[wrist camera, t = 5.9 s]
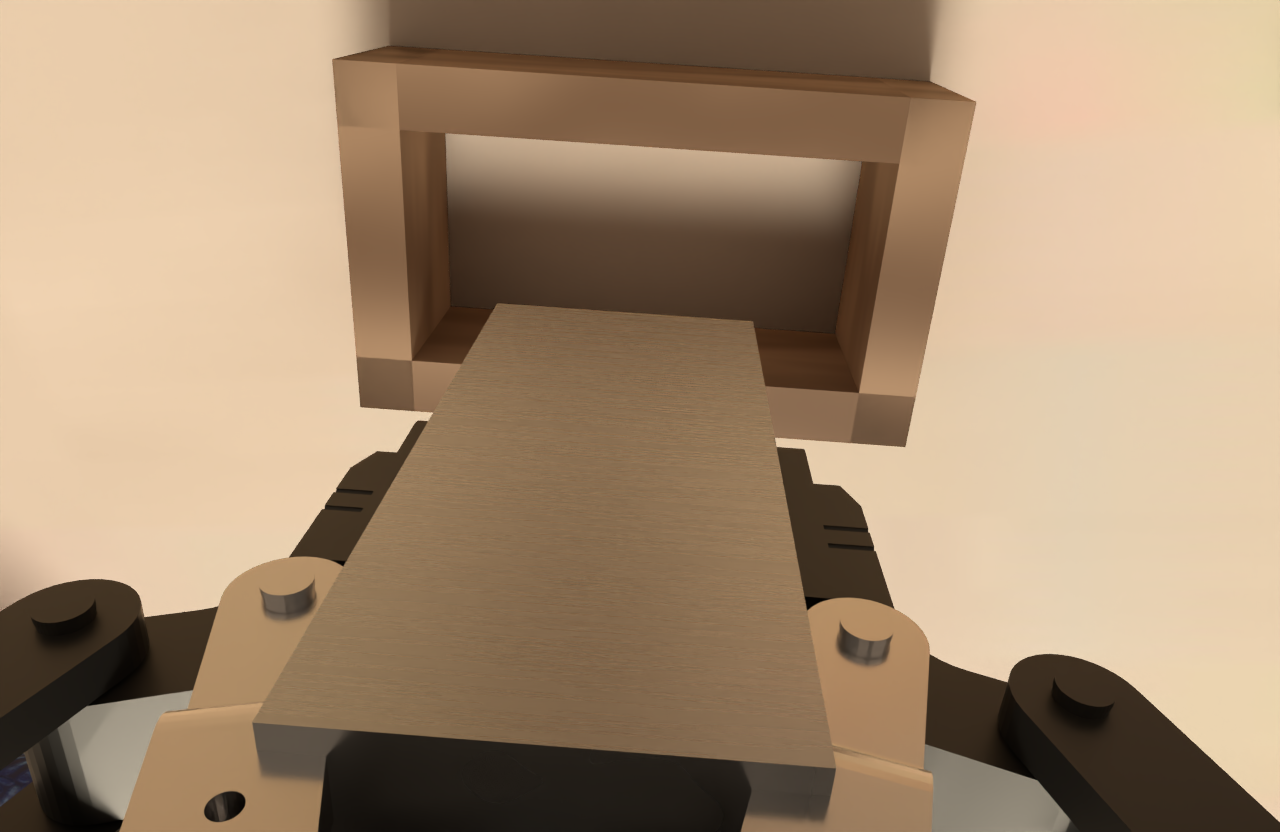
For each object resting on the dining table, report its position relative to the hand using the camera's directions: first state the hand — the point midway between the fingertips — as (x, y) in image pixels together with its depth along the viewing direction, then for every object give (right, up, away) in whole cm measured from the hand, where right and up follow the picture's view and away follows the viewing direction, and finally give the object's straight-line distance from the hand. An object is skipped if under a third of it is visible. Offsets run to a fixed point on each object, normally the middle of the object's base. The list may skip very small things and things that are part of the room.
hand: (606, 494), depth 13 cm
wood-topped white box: (0, +1, +2) cm, 2 cm away
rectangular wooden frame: (+1, +7, +14) cm, 16 cm away
